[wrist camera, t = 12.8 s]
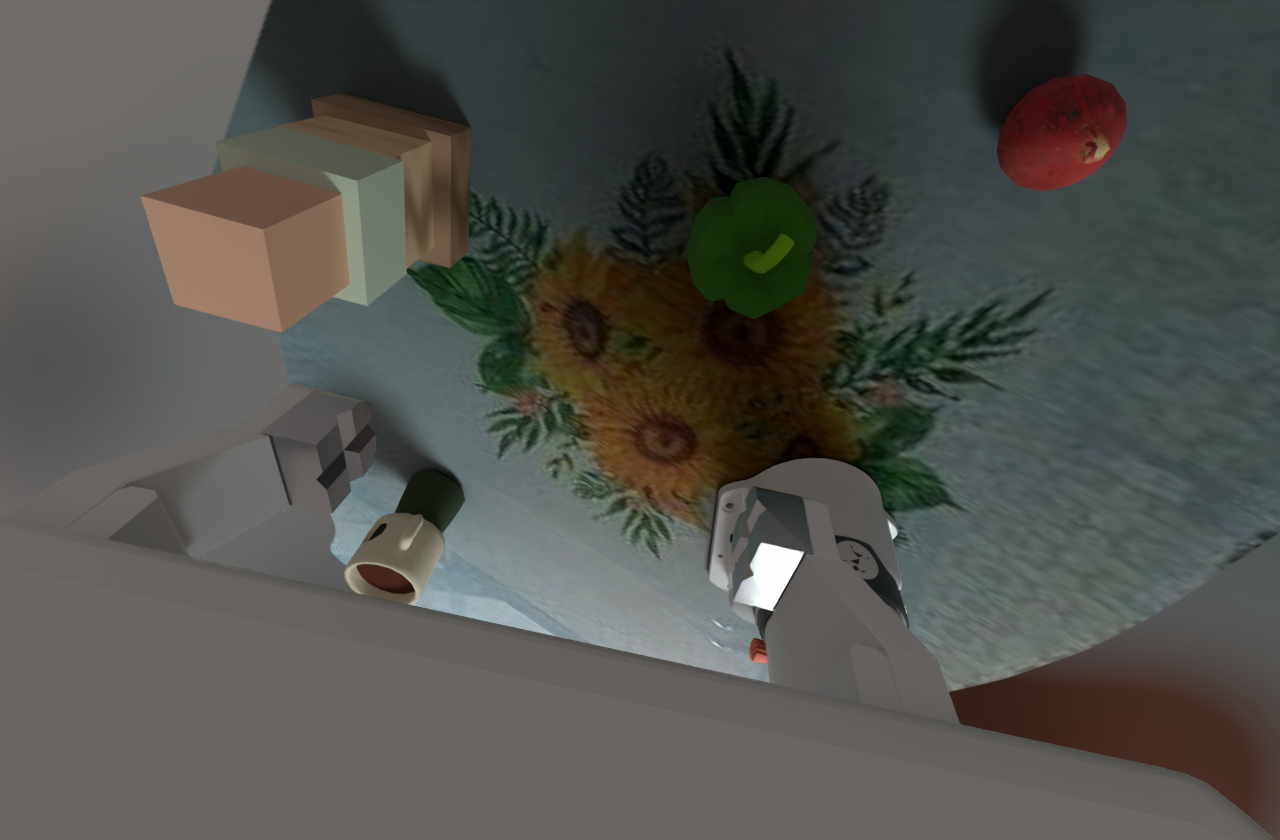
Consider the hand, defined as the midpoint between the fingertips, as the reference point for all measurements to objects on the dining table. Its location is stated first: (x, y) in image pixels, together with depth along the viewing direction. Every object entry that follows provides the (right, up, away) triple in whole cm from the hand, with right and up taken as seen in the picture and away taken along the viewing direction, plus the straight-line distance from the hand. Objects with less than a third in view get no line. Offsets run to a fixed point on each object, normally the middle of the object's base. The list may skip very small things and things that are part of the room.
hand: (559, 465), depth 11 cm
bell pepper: (+10, +15, +28) cm, 33 cm away
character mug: (-21, -7, +48) cm, 53 cm away
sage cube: (-16, +14, +21) cm, 30 cm away
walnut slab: (-15, +19, +29) cm, 38 cm away
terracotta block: (-17, +11, +17) cm, 26 cm away
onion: (+26, +20, +23) cm, 40 cm away
